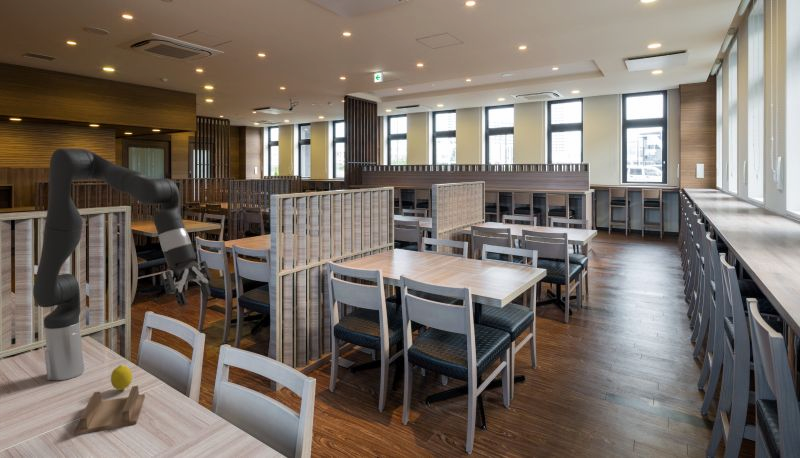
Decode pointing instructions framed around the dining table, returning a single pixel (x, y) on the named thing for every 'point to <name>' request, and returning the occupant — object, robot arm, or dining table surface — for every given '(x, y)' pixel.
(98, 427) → the cradle
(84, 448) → the dining table surface
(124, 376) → the lemon
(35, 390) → the dining table surface
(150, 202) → the robot arm
